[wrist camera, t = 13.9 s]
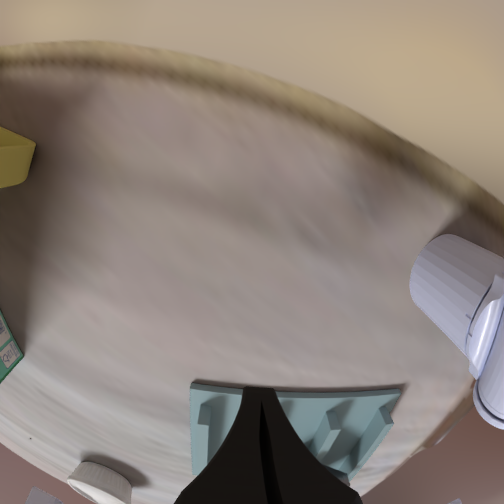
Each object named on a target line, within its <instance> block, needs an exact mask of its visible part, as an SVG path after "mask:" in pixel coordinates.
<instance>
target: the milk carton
mask: <svg viewBox="0 0 504 504" xmlns="http://www.w3.org/2000/svg"><path fill="white" fill-rule="evenodd" d="M23 357H24V356H23V354H22V353H21V351H20V349H19V347H18V345H17V343H16V341H15V340H14V338H13V336H12V334H11V332H10V330H9V328H8V325H7V323H6V321H5V319H4V317H3V315H2V312H1V310H0V383H1V382H2V381H3V380H4V379H5V378H6V376H7V375H8V374H9V373H10V372H11V371H12V370H13V368H14V367H15V366H16V365H17V364H18V363H19V362H20V361H21V360H22V359H23Z"/></svg>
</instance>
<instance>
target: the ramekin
mask: <svg viewBox="0 0 504 504" xmlns="http://www.w3.org/2000/svg"><path fill="white" fill-rule="evenodd" d="M67 482H68V484H69V485H70V486H71V487H72V488H73V489H74V490H75V491H77V492H78V493H79V494H81V495H82V496H84V497H86V498H87V499H89V500H91V501H93V502H95V503H97V504H131V494H132V487H131V485H130V483H129V481H128V480H127V479H126V478H124V477H123V476H122V475H120V474H119V473H117V472H115V471H113V470H112V469H110V468H107V467H105V466H103V465H100V464H97V463H93V462H83V463H81V464H79V465H78V467H77V468H76V469H75V471H74V472H73V473H72V475H70V476H69V477H68V479H67Z"/></svg>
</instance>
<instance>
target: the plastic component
mask: <svg viewBox="0 0 504 504" xmlns="http://www.w3.org/2000/svg"><path fill="white" fill-rule="evenodd" d="M35 146H36V144H35V142H33V141H32V140H30V139H27V138H25V137H23V136H21V135H18V134H16V133H14V132H12V131H9V130H7V129H5V128H3V127H0V188H4V187H9V186H13V185H18V184H20V183H22V182H24V181H25V179H26V178H27V176H28V172H29V168H30V164H31V160H32V157H33V153H34V150H35Z"/></svg>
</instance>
